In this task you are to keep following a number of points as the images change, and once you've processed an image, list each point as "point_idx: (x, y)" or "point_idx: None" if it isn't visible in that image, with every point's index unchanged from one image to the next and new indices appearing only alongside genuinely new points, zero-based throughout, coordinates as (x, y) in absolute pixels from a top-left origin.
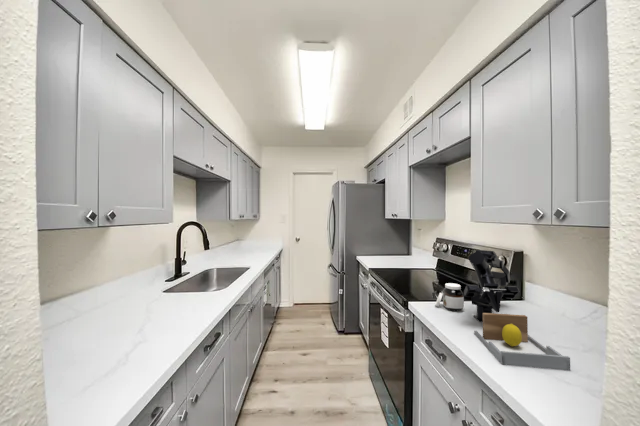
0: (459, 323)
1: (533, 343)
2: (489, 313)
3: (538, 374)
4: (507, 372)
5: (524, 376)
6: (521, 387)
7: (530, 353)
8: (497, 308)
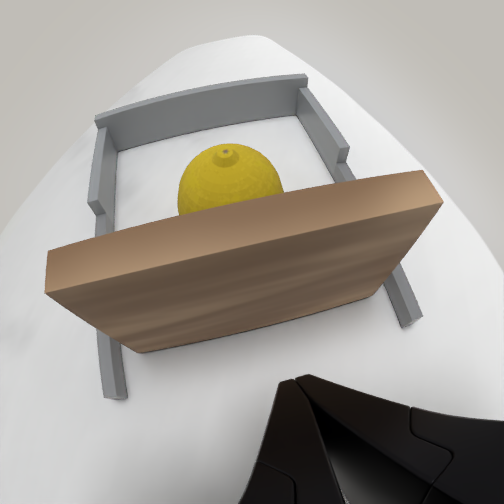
0: None
1: None
2: (394, 207)
3: None
4: None
5: None
6: (270, 64)
7: (212, 88)
8: (308, 389)
